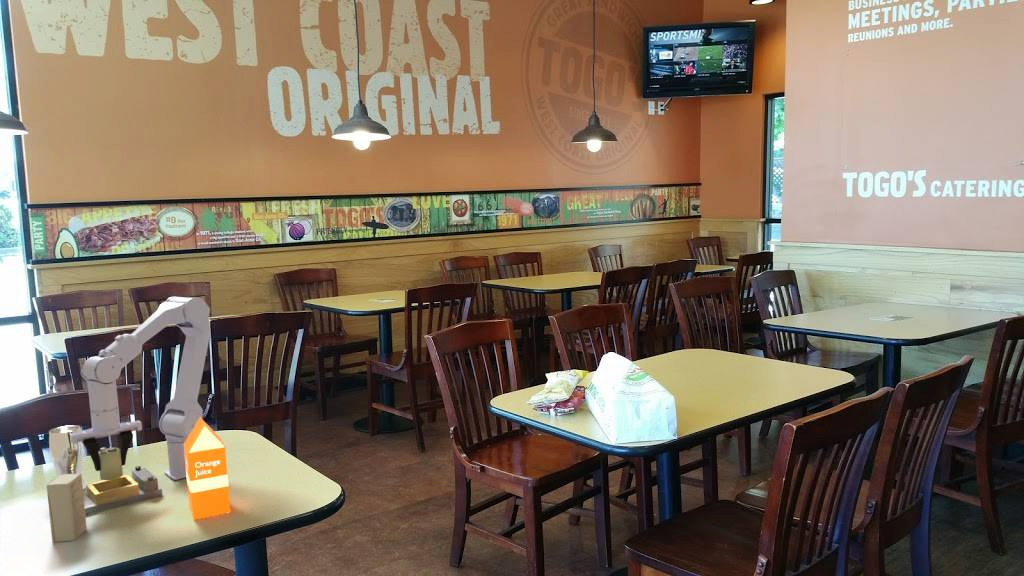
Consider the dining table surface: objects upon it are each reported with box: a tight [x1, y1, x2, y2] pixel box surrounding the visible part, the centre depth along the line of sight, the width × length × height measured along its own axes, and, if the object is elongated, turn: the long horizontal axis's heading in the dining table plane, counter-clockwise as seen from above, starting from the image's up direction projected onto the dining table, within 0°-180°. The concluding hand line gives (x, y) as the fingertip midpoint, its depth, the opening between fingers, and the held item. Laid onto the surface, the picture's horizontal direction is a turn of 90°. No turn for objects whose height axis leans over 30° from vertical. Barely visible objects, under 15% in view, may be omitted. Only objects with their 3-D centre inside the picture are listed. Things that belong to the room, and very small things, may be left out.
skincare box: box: [46, 473, 87, 543], centre depth 163 cm, size 6×4×12 cm
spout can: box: [98, 446, 124, 481], centre depth 182 cm, size 5×5×7 cm
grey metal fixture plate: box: [83, 465, 163, 516], centre depth 183 cm, size 18×12×5 cm, turn 130°
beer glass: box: [48, 425, 86, 491], centre depth 190 cm, size 7×7×15 cm
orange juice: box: [184, 417, 231, 521], centre depth 174 cm, size 8×9×20 cm
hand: (110, 467), depth 183 cm, fingers closed on spout can, 5 cm apart
